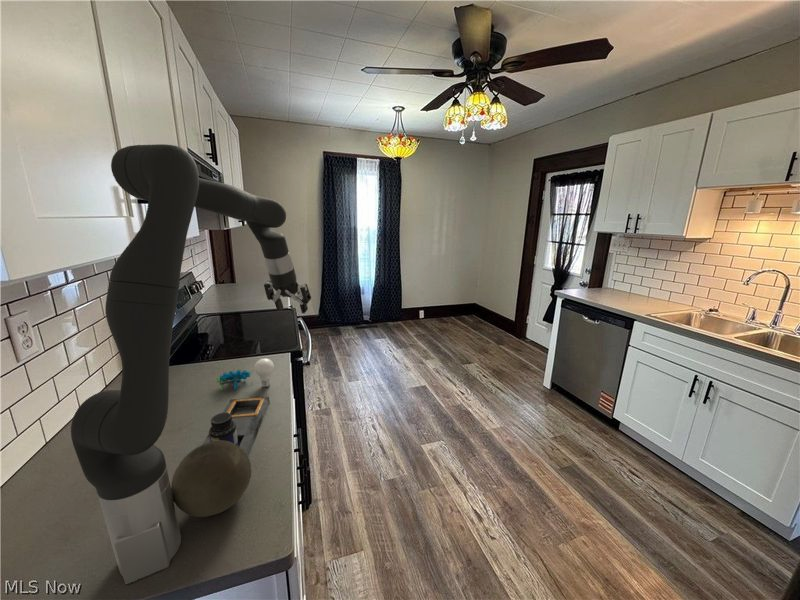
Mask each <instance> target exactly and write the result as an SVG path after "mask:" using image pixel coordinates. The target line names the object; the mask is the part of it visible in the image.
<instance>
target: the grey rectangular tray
mask: <svg viewBox="0 0 800 600" xmlns="http://www.w3.org/2000/svg"><path fill="white" fill-rule="evenodd" d="M270 404H271V401H270V396H260V397H248V398H246V397H245V398H233V399H232V398H231V399H230V400H229V402H228V403H227V405H226V406H225V408H224V410H223V411H222V413H230V414H231V416H232V421H234V422H235V424H236V431H237V439H238V444H239V445H238V447H240V448H242V449H243V450H244V451H245V452H246V454H247V456H248V457H249V455H250V453H251V450H252V447H253V445H254V443H255V441H256V439H257V435H258V433H259V431H260V429H259V428H261V426H262V423H263V421H264V419H265V415H266V414H267V412H266V411H268V409H269V407H268V406H270ZM248 408H250V409H251V408H256V409H255V412H254V413H245V414H243V413H242V414H236V411H237V410H238V409H248ZM263 418H264V419H263ZM206 443H210V435H209V434H208V435H207V437H206V438H205V440H204V441H203V442H202V444H201V445H203V444H206Z"/></svg>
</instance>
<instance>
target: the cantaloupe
mask: <svg viewBox="0 0 800 600" xmlns="http://www.w3.org/2000/svg"><path fill="white" fill-rule="evenodd" d="M202 444H203V443H202ZM202 444H201V445H199V446H197V447H196V448H194V449H193V450H191V451H190V452H189V453H188V454H187V455H186V456H185V457H184V458H183V459H182V460H181V461H180V463H179V464H178V466H177V468H176V469H175V471H174V473H173V476H172V478H171V483H170V486H171V491H172V496H173V501H174V505H175V506H177V508H179V510H180V511H182V512H184V513H185V514H186V515H187V516H191V517H194V518H205V517H206V518H207V517H211V516H215V515H218V514H220V513H222V512H224V511H227V510H228V509H229V508H231V507H232V506H233V505H235V504H236V503H237V502H238V501H239V500H240V498H242V496H243V495H244V493H245V492H246V491H247V488H248V486H249V484H250V482H251V478H252V464H251V462H250V458H249V455H248V456H247V454H246V452H245V451H244V450H243V449H242V448H240V447H239V445H238V446H236V445H235V444H233V443H232V442H229V441H224V440H218V441H214V442H210V443H206V444H203V445H202Z"/></svg>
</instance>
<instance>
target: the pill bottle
mask: <svg viewBox="0 0 800 600" xmlns="http://www.w3.org/2000/svg"><path fill="white" fill-rule="evenodd" d="M210 425H211V427H210V428H209V430H208V431H209V432H208V435H210V442H214V441H218V440H224V441H229V442H232V443H233V444H235V445H236V446H238V447H239V443H238V439H237V431H236V424H235V422H234V421H232V416H231V414H230V413H223V412H220V413H218V414H215V415H214V416H212V417H211V419H210Z"/></svg>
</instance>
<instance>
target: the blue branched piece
mask: <svg viewBox="0 0 800 600" xmlns="http://www.w3.org/2000/svg"><path fill="white" fill-rule="evenodd" d="M250 377H251V371H248V370H242V371H241V369H238V370H236V372H235V371H233V370H230V371H229V372H228V373H227V372H224V373H223V374H222V375H220V376H219V377H217V378H216V383H219V386H220V389H221V390H220V391H221V392H222V391H224V385H227V384H234V385H233V386H234V387H233V388H234V389H233V390H236V391H237V390H238V382H241V381H242V380H247V379H248V378H250Z"/></svg>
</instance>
